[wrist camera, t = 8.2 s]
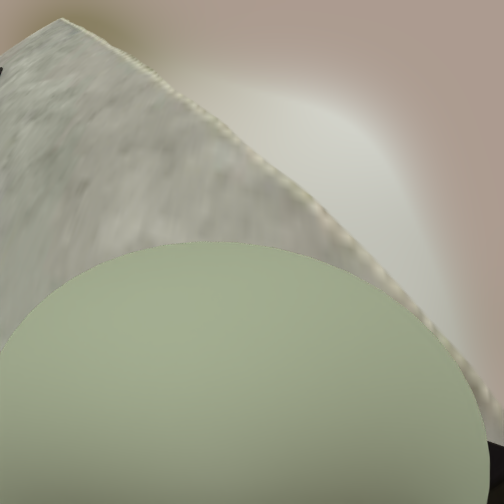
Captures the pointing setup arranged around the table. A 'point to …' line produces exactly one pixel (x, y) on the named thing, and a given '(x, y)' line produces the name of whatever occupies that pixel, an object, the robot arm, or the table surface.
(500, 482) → the robot arm
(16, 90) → the table surface
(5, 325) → the table surface
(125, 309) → the peg
